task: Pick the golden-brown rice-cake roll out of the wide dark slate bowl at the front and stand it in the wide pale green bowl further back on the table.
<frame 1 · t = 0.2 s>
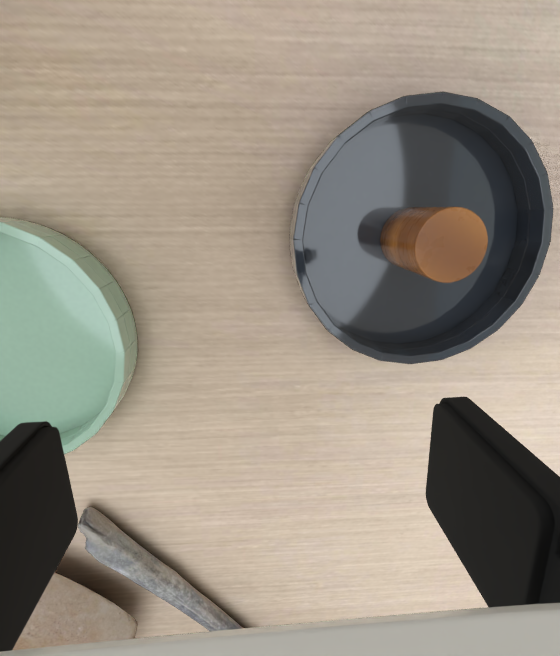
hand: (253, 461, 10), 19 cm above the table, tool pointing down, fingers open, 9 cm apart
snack: (408, 238, 27), point 1 cm above the table, touching slate bowl
green bowl: (18, 337, 28), on the table
slate bowl: (405, 237, 27), on the table
bone: (205, 603, 36), on the table
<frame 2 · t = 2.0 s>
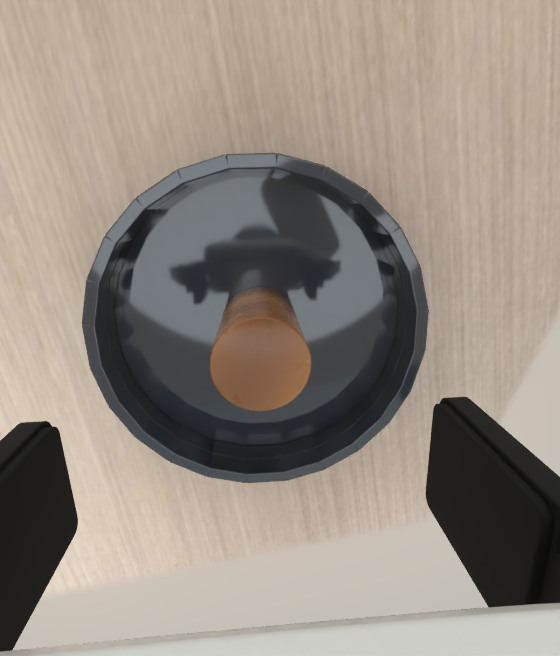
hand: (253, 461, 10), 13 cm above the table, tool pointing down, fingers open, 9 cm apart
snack: (259, 323, 21), point 1 cm above the table, touching slate bowl
slate bowl: (259, 320, 22), on the table
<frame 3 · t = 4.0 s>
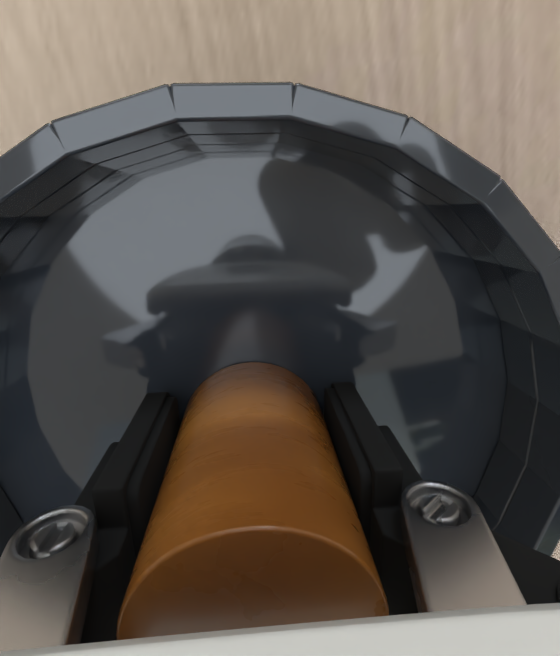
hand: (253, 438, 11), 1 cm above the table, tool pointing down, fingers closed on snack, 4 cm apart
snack: (253, 425, 12), point 1 cm above the table, touching gripper, slate bowl
slate bowl: (253, 415, 12), on the table
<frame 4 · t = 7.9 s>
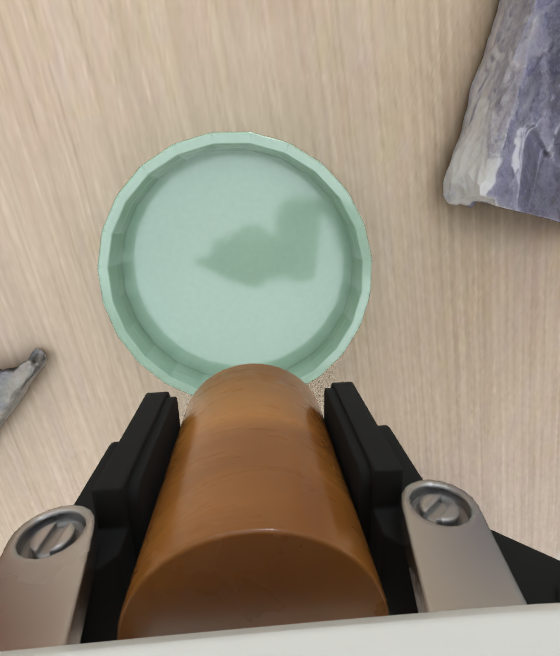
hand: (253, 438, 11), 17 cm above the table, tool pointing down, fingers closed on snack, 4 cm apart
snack: (253, 426, 12), point 17 cm above the table, touching gripper
green bowl: (239, 272, 27), on the table
rock: (534, 19, 24), on the table
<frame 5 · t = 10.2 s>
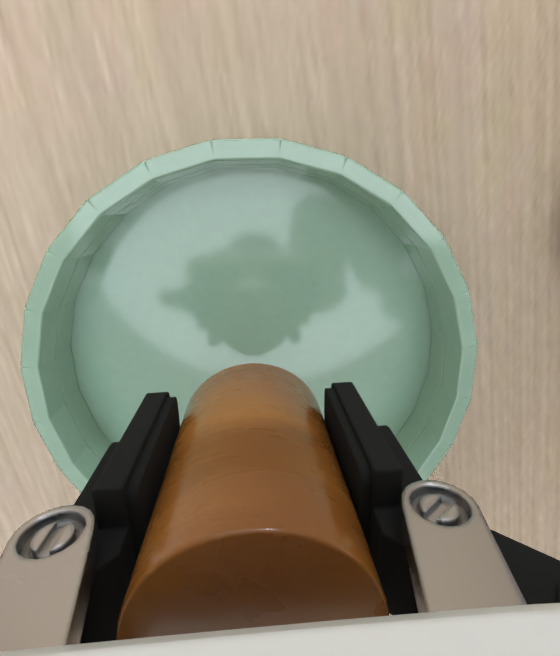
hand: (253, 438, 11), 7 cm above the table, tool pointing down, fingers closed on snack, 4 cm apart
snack: (253, 426, 12), point 6 cm above the table, touching gripper
green bowl: (256, 353, 17), on the table
when the fingers open (1 cm above the table, at t = 11.9 s): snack stays where it is, resting on green bowl.
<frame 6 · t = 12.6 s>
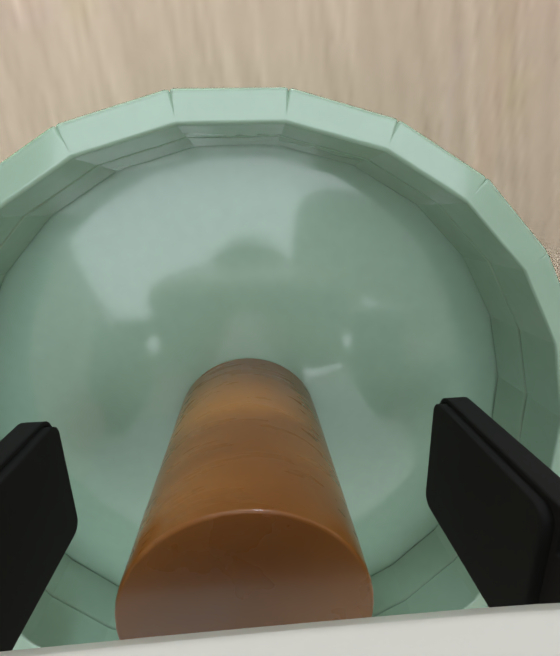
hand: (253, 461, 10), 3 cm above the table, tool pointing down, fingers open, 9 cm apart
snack: (248, 420, 12), point 1 cm above the table, touching green bowl
green bowl: (250, 409, 12), on the table
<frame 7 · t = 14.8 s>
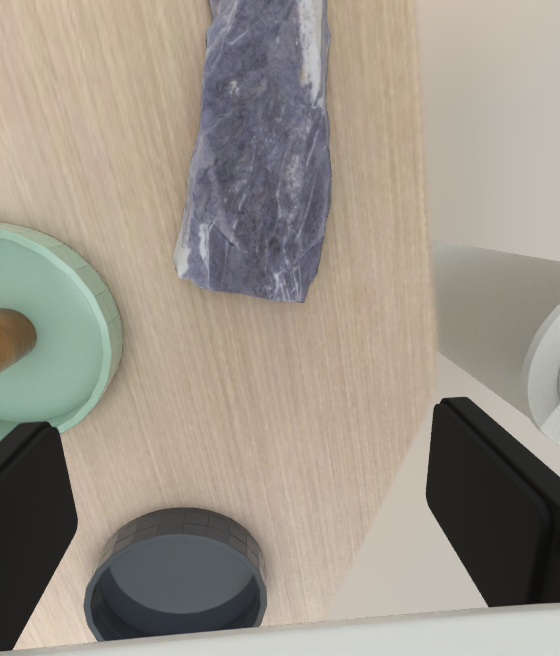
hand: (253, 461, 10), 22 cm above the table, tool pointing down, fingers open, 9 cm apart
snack: (8, 333, 30), point 1 cm above the table, touching green bowl
green bowl: (14, 331, 30), on the table
rock: (247, 121, 28), on the table
slate bowl: (182, 575, 39), on the table
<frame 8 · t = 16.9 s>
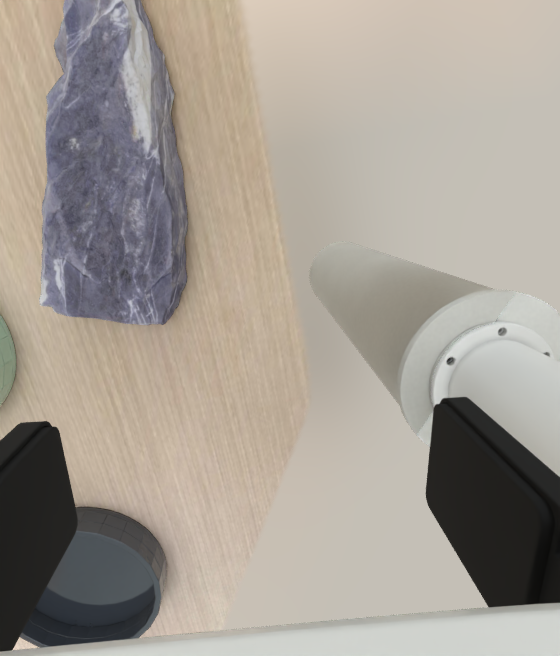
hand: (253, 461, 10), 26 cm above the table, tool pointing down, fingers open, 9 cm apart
rock: (110, 166, 32), on the table
slate bowl: (90, 569, 43), on the table
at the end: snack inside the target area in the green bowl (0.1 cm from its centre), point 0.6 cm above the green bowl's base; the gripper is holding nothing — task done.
